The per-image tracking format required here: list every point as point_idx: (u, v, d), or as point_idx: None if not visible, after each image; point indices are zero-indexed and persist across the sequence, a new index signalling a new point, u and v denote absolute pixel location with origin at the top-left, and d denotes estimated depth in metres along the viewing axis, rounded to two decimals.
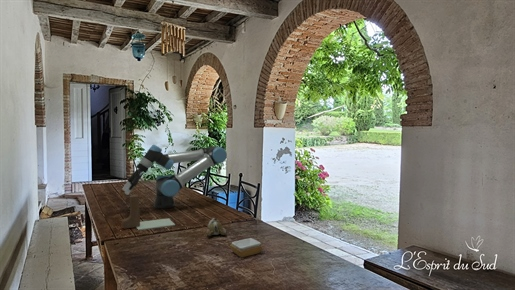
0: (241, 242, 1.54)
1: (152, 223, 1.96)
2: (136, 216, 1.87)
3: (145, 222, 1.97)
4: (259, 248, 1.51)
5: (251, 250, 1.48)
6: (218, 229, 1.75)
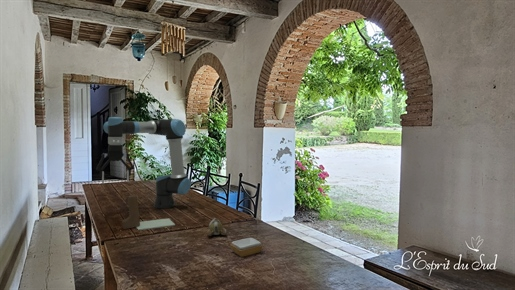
0: (241, 242, 1.55)
1: (152, 223, 1.96)
2: (135, 216, 1.87)
3: (145, 222, 1.97)
4: (259, 248, 1.51)
5: (251, 250, 1.49)
6: (218, 229, 1.74)
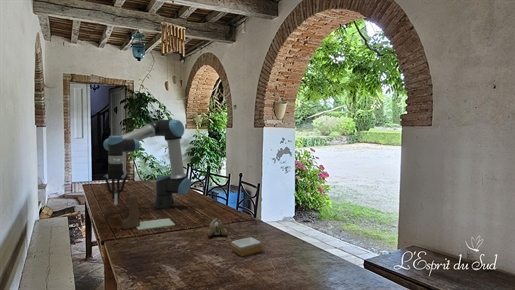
0: (241, 241, 1.56)
1: (152, 223, 1.96)
2: (135, 216, 1.87)
3: (145, 222, 1.97)
4: (259, 247, 1.52)
5: (251, 249, 1.49)
6: (219, 229, 1.74)
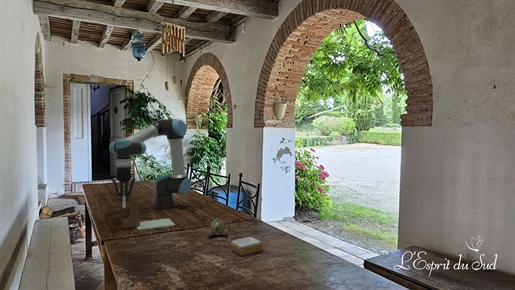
0: (241, 241, 1.56)
1: (152, 223, 1.96)
2: (136, 215, 1.88)
3: (145, 222, 1.97)
4: (259, 247, 1.52)
5: (251, 249, 1.50)
6: (219, 229, 1.74)
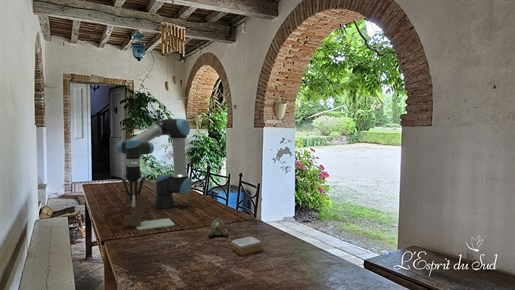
0: (241, 240, 1.57)
1: (152, 223, 1.96)
2: (139, 215, 1.88)
3: (145, 222, 1.97)
4: (259, 246, 1.53)
5: (251, 248, 1.50)
6: (220, 229, 1.74)
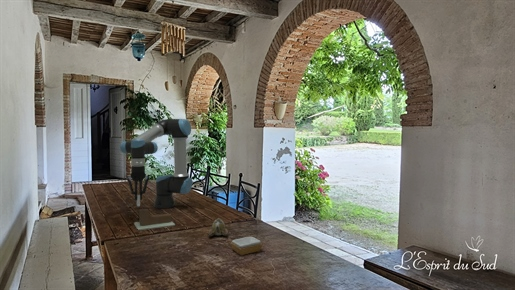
0: (241, 240, 1.57)
1: None
2: (152, 221, 1.92)
3: None
4: (259, 246, 1.53)
5: (251, 248, 1.51)
6: (220, 230, 1.74)
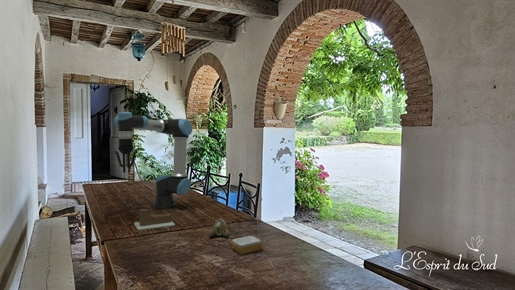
0: (242, 239, 1.58)
1: None
2: (152, 221, 1.92)
3: None
4: (259, 245, 1.54)
5: (251, 247, 1.51)
6: (220, 230, 1.73)
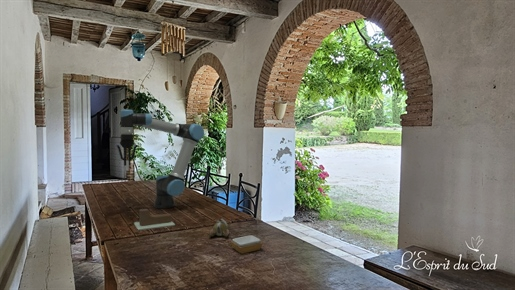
0: (242, 239, 1.59)
1: None
2: (152, 221, 1.92)
3: None
4: (259, 245, 1.55)
5: (251, 247, 1.52)
6: (221, 230, 1.73)
